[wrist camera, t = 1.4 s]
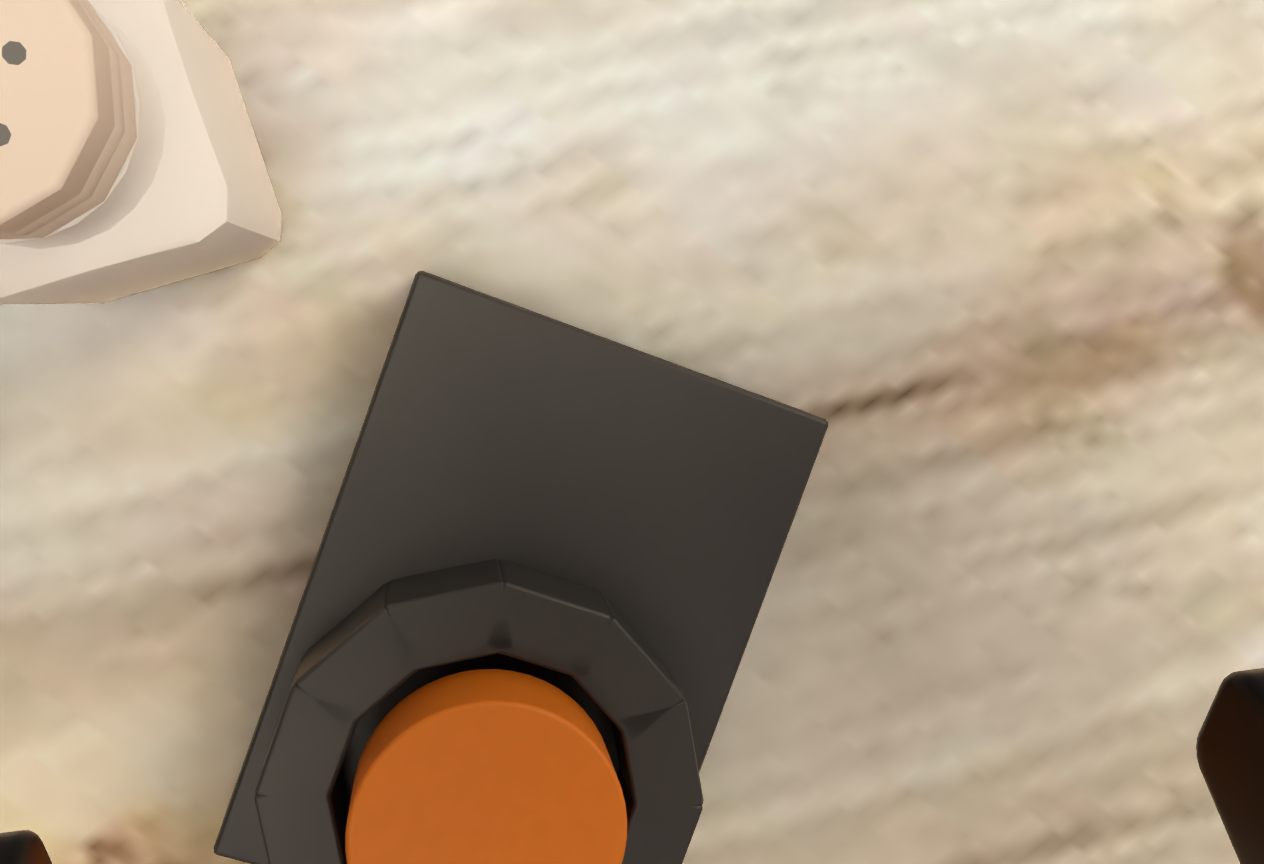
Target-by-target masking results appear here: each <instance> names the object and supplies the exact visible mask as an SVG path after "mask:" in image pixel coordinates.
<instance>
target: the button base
mask: <svg viewBox="0 0 1264 864" xmlns="http://www.w3.org/2000/svg"><path fill="white" fill-rule="evenodd" d="M827 427H828V421H827V420H826V419H824V418H821V417H818V416H815V415H813V414H810V413H807V412H804V411H802V410H799V409H796V408H794V407H791V406H788V405H785V404H783V403H780V402H777V401H775V400H772V399H769V398H766V397H764V396H761V395H758V394H756V393H753V392H750V391H747V390H745V389H742V388H739V387H737V386H734V385H731V384H728V383H726V382H723V381H720V380H718V379H715V378H712V377H709V376H707V375H704V374H701V373H698V372H696V371H693V370H690V369H688V368H685V367H682V366H679V365H677V364H674V363H671V362H669V361H666V360H663V359H660V358H658V357H655V356H652V355H650V354H647V353H644V352H641V351H639V350H636V349H633V348H631V347H628V346H625V345H622V344H620V343H617V342H614V341H612V340H609V339H606V338H603V337H601V336H598V335H595V334H593V333H590V332H587V331H584V330H582V329H579V328H576V327H573V326H571V325H568V324H565V323H563V322H560V321H557V320H554V319H552V318H549V317H546V316H544V315H541V314H538V313H535V312H533V311H530V310H527V309H525V308H522V307H519V306H516V305H514V304H511V303H508V302H506V301H503V300H500V299H497V298H495V297H492V296H489V295H487V294H484V293H481V292H478V291H476V290H473V289H470V288H467V287H465V286H462V285H459V284H457V283H454V282H451V281H448V280H446V279H443V278H440V277H438V276H435V275H432V274H429V273H427V272H424V271H418V272H417V274H416V275H415V278H414V281H413V284H412V286H411V289H410V292H409V295H408V298H407V301H406V303H405V306H404V309H403V312H402V315H401V318H400V320H399V323H398V326H397V329H396V332H395V335H394V337H393V340H392V343H391V346H390V349H389V352H388V354H387V357H386V360H385V363H384V366H383V369H382V371H381V374H380V377H379V380H378V383H377V386H376V388H375V391H374V394H373V397H372V400H371V403H370V405H369V408H368V411H367V414H366V417H365V420H364V423H363V425H362V428H361V431H360V434H359V437H358V440H357V442H356V445H355V448H354V451H353V454H352V457H351V459H350V462H349V465H348V468H347V471H346V474H345V476H344V479H343V482H342V485H341V488H340V491H339V493H338V496H337V499H336V502H335V505H334V508H333V510H332V513H331V516H330V519H329V522H328V525H327V527H326V530H325V533H324V536H323V539H322V542H321V544H320V547H319V550H318V553H317V556H316V559H315V561H314V564H313V567H312V570H311V573H310V576H309V579H308V581H307V584H306V587H305V590H304V593H303V596H302V598H301V601H300V604H299V607H298V610H297V613H296V615H295V618H294V621H293V624H292V627H291V630H290V632H289V635H288V638H287V641H286V644H285V647H284V649H283V652H282V655H281V658H280V661H279V664H278V666H277V669H276V672H275V675H274V678H273V681H272V683H271V686H270V689H269V692H268V695H267V698H266V700H265V703H264V706H263V709H262V712H261V715H260V717H259V720H258V723H257V726H256V729H255V732H254V734H253V737H252V740H251V743H250V746H249V749H248V752H247V754H246V757H245V760H244V763H243V766H242V769H241V771H240V774H239V777H238V780H237V783H236V786H235V788H234V791H233V794H232V797H231V800H230V803H229V805H228V808H227V811H226V814H225V817H224V820H223V822H222V825H221V828H220V831H219V834H218V837H217V839H216V842H215V845H214V853H215V854H217V855H220V856H224V857H228V858H232V859H235V860H239V861H243V862H247V863H251V864H347V859H346V852H345V833H346V825H347V818H348V812H349V806H350V801H351V795H352V789H353V784H354V778H355V773H356V770H357V766H358V763H359V759H360V757H361V755H362V752H363V750H364V748H365V745H366V743H367V742H368V740H369V738H370V737H371V735H372V733H373V732H374V730H375V728H376V727H377V726H378V725H379V723H380V722H381V721H382V720H383V718H384V717H385V716H386V715H387V714H388V713H389V712H390V711H391V710H392V709H393V708H394V707H395V706H396V705H397V704H398V703H399V702H400V701H402V700H403V699H404V698H406V697H407V696H408V695H410V694H411V693H412V692H414V691H416V690H418V689H419V688H421V687H423V686H424V685H426V684H428V683H430V682H433V681H435V680H437V679H440V678H442V677H445V676H448V675H452V674H456V673H459V672H464V671H471V670H478V669H500V670H509V671H515V672H519V673H524V674H528V675H531V676H533V677H536V678H539V679H541V680H544V681H546V682H548V683H550V684H551V685H553V686H555V687H557V688H559V689H560V690H562V691H563V692H564V693H566V694H567V695H568V696H570V697H571V698H572V699H573V700H574V701H575V702H576V703H578V704H579V705H580V706H581V707H582V708H583V709H584V711H585V712H586V713H587V714H588V716H589V717H590V718H591V719H592V721H593V722H594V724H595V725H596V727H597V729H598V731H599V732H600V734H601V736H602V738H603V741H604V743H605V746H606V748H607V751H608V753H609V756H610V759H611V761H612V764H613V767H614V769H615V772H616V774H617V777H618V780H619V782H620V785H621V788H622V792H623V796H624V800H625V804H626V813H627V841H626V847H625V853H624V858H623V861H622V864H682V862H683V860H684V857H685V854H686V852H687V849H688V846H689V843H690V841H691V838H692V835H693V833H694V830H695V827H696V825H697V822H698V819H699V817H700V814H701V811H702V804H703V795H702V789H701V784H700V778H699V771H700V769H701V766H702V763H703V761H704V758H705V755H706V753H707V750H708V747H709V745H710V742H711V739H712V736H713V734H714V731H715V728H716V726H717V723H718V720H719V718H720V715H721V712H722V710H723V707H724V704H725V702H726V699H727V696H728V694H729V691H730V688H731V685H732V683H733V680H734V677H735V675H736V672H737V669H738V667H739V664H740V661H741V659H742V656H743V653H744V651H745V648H746V645H747V642H748V640H749V637H750V634H751V632H752V629H753V626H754V624H755V621H756V618H757V616H758V613H759V610H760V608H761V605H762V602H763V599H764V597H765V594H766V591H767V589H768V586H769V583H770V581H771V578H772V575H773V573H774V570H775V567H776V565H777V562H778V559H779V556H780V554H781V551H782V548H783V546H784V543H785V540H786V538H787V535H788V532H789V530H790V527H791V524H792V522H793V519H794V516H795V513H796V511H797V508H798V505H799V503H800V500H801V497H802V495H803V492H804V489H805V487H806V484H807V481H808V479H809V476H810V473H811V470H812V468H813V465H814V462H815V460H816V457H817V454H818V452H819V449H820V446H821V444H822V441H823V438H824V436H825V433H826V430H827Z"/></svg>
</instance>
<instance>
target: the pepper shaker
mask: <svg viewBox="0 0 1264 864" xmlns="http://www.w3.org/2000/svg"><path fill="white" fill-rule="evenodd" d="M281 222H282V214H281V211H280V208H279V205H278V202H277V199H276V196H275V193H274V190H273V187H272V184H271V181H270V178H269V175H268V172H267V169H266V166H265V163H264V160H263V157H262V154H261V151H260V148H259V145H258V142H257V140H256V137H255V134H254V131H253V128H252V125H251V122H250V119H249V116H248V113H247V110H246V107H245V104H244V101H243V98H242V95H241V92H240V89H239V86H238V83H237V80H236V77H235V74H234V71H233V68H232V65H231V62H230V59H229V58H228V57H227V56H226V54H225V53H224V52H223V51H222V50H221V48H220V47H219V46H218V45H217V44H216V42H215V41H214V40H213V39H212V38H211V37H210V35H209V34H208V33H207V32H206V31H205V30H204V28H203V27H202V26H201V25H200V24H199V23H198V22H197V20H196V19H195V18H194V17H193V16H192V15H191V13H190V12H189V11H188V10H187V9H186V8H185V6H184V5H183V4H182V3H181V2H180V1H179V0H0V304H67V303H105V302H109V301H112V300H116V299H119V298H122V297H126V296H129V295H133V294H136V293H140V292H143V291H147V290H150V289H154V288H157V287H161V286H164V285H167V284H171V283H174V282H178V281H181V280H185V279H188V278H192V277H195V276H198V275H202V274H205V273H209V272H212V271H216V270H219V269H223V268H226V267H230V266H233V265H236V264H240V263H243V262H247V261H250V260H254V259H257V258H260V257H261V256H263V255H264V254H265V253H266V252H268V251H269V250H270V249H271V248H272V247H274V246H275V245H276V244H277V243H279V242H280V236H281Z"/></svg>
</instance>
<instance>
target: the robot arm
mask: <svg viewBox="0 0 1264 864" xmlns="http://www.w3.org/2000/svg"><path fill="white" fill-rule="evenodd" d="M1196 749H1197V758H1198V763H1199V766H1200V769H1201V772H1202V774H1203V777H1204V779H1205V782H1206V784H1207V786H1208V789H1209V791H1210V793H1211V796H1212V798H1213V800H1214V803H1215V805H1216V807H1217V810H1218V812H1219V814H1220V817H1221V819H1222V821H1223V824H1224V826H1225V829H1226V831H1227V833H1228V836H1229V838H1230V840H1231V843H1232V845H1233V847H1234V850H1235V852H1236V854H1237V857H1238V859H1239V861H1240V864H1264V668H1261V669H1253V670H1245V671H1238V672H1234V673H1231V674H1230V675H1228V676H1227V677H1226V678H1225V679H1224V680H1223V682H1222V683H1221V685H1220V687H1219V690H1218V692H1217V694H1216V696H1215V698H1214V701H1213V703H1212V705H1211V707H1210V710H1209V712H1208V714H1207V716H1206V718H1205V721H1204V723H1203V725H1202V727H1201V730H1200V732H1199V734H1198V737H1197V745H1196ZM0 864H52V862H51V860H50V858H49V856H48V853H47V851H46V849H45V847H44V845H43V842H42V841H41V839H40V838H39V836H38V835H37V834H35V833H34V832H32V831H29V830H22V831H14V832H6V833H0Z"/></svg>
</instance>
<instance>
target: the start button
mask: <svg viewBox="0 0 1264 864" xmlns="http://www.w3.org/2000/svg"><path fill="white" fill-rule="evenodd" d="M626 841H627V813H626V804H625V800H624V796H623V792H622V788H621V785H620V782H619V780H618V777H617V774H616V772H615V769H614V767H613V764H612V761H611V759H610V756H609V753H608V751H607V748H606V746H605V743H604V741H603V738H602V736H601V734H600V732H599V731H598V729H597V727H596V725H595V724H594V722H593V721H592V719H591V718H590V717H589V716H588V714H587V713H586V712H585V711H584V709H583V708H582V707H581V706H580V705H579V704H578V703H576V702H575V701H574V700H573V699H572V698H571V697H570V696H568V695H567V694H566V693H564V692H563V691H562V690H560V689H559V688H557V687H555V686H553V685H551V684H550V683H548V682H546V681H544V680H541V679H539V678H536V677H533V676H531V675H528V674H524V673H519V672H515V671H509V670H500V669H478V670H471V671H464V672H459V673H456V674H452V675H448V676H445V677H442V678H440V679H437V680H435V681H433V682H430V683H428V684H426V685H424V686H423V687H421V688H419V689H418V690H416V691H414V692H412V693H411V694H410V695H408V696H407V697H406V698H404V699H403V700H402V701H400V702H399V703H398V704H397V705H396V706H395V707H394V708H393V709H392V710H391V711H390V712H389V713H388V714H387V715H386V716H385V717H384V718H383V720H382V721H381V722H380V723H379V725H378V726H377V727H376V728H375V730H374V732H373V733H372V735H371V737H370V738H369V740H368V742H367V743H366V745H365V748H364V750H363V752H362V755H361V757H360V759H359V763H358V766H357V770H356V773H355V778H354V784H353V789H352V795H351V801H350V806H349V812H348V818H347V825H346V833H345V852H346V859H347V864H622V861H623V858H624V853H625V847H626Z"/></svg>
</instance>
